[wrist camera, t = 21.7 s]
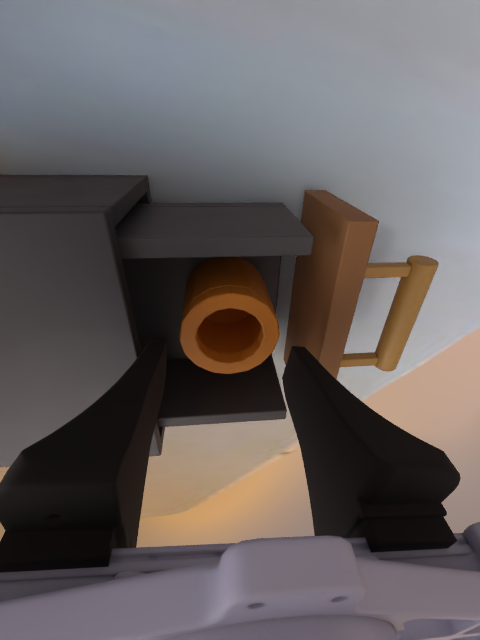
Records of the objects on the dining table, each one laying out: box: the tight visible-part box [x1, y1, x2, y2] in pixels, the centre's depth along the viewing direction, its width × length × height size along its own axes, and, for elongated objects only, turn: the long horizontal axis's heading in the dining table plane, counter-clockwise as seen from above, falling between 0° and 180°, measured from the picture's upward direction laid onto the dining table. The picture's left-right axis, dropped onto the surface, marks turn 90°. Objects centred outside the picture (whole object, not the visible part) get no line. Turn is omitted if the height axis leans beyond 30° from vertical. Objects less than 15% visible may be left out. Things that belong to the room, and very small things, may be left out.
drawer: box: [115, 190, 439, 427], centre depth 17 cm, size 17×12×6 cm
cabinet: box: [0, 175, 165, 467], centre depth 16 cm, size 13×13×8 cm
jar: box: [179, 257, 279, 374], centre depth 16 cm, size 5×5×5 cm
